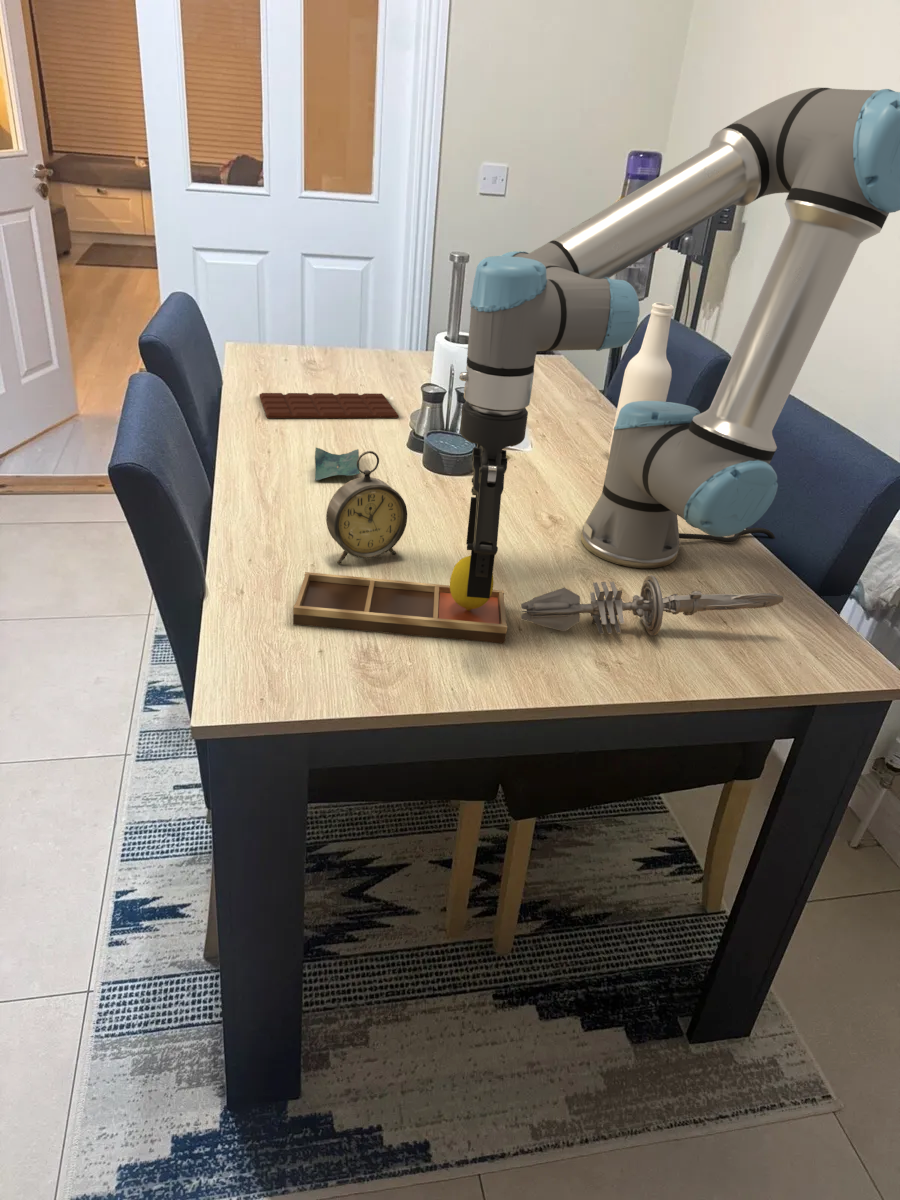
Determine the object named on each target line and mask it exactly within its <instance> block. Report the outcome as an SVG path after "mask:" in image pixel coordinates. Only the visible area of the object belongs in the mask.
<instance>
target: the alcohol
mask: <svg viewBox="0 0 900 1200" xmlns="http://www.w3.org/2000/svg"><path fill="white" fill-rule="evenodd" d="M651 307H652V308H651V309H650V316H649V319H648V322H647V327H646V330H645V332H644V336H643V340H642V343H641V346H640V349H639V350H638V353H636V354H635V355H634V356H633V357H632V358H631V359H630V360H629V361H628V363H627V365H626V367H625V369H624V374H623V378H622V383H621V388H620V392H619V398H618V402H617V407H616V411H615V417H614V422H613V427H612V432H611V437H610V441H609V446H608V455H610V450H611V444H612V439H613V434H614V427H615V425H616V422H617V419H618V415H619V412H620V410H621V408H622V407H624V406H625V405H626V404H628V403H631V402H636V401H663V402H667V398H668V394H669V390H670V385H671V381H672V375H673V373H672V371H673V369H672V366H671V364H670V362H669V360H668V358H667V348H668V342H669V334H670V327H671V322H672V321H671V320H672V317H673V316H674V313H673V311H674V309H675V306H673V305H672V304H670V303H666V302H658V301H656V302H654V303H652V304H651Z"/></svg>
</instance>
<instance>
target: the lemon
mask: <svg viewBox="0 0 900 1200" xmlns="http://www.w3.org/2000/svg"><path fill="white" fill-rule="evenodd" d="M470 559H471V555H467V556H464V557H463V558H461V559H459V560H458V561H457V562H456V564H455V565H454V567H453V569H452V572H451V575H450V579H449V585H450V591H451V595H452V597H453V599H454V600H455V602H456V603H457V604H458V605H460V606H461V607H463V608H465V609H466V610H468V611H470V610H472V609H475V608H479V607H481V606H483V605H484V604H485V603H486V602H487V601H488V600H489V598H477V597H467V587H468V578H469V568H470ZM494 583H495V581H494V573H493V574H492V582H491V590H490V596H491V594H492V591H493V590H494Z"/></svg>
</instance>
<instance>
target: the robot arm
mask: <svg viewBox="0 0 900 1200" xmlns="http://www.w3.org/2000/svg"><path fill="white" fill-rule="evenodd" d="M785 193H786V194H787V196H786V199H785V202H784V206H785V208H786V211H787V214H788V216H789V224H788V227H787V229H786V231H785V233H784V236H783V238H782V240H781V243H780V245H779V247H778V250H777V252H776V254H775V256H774V259H773V261H772V264H771V265H770V268H769V271H768V272H767V274H766V277H765V279H764V282H763V284H762V286H761V289H760V291H759V293H758V296H757V298H756V300H755V303H754V304H753V307H752V308H751V309H752V310H751V312H750V314H749V315H748V318H747V321H746V323H745V325H744V328H743V330H742V333H741V334H740V337H739V339H738V341H737V344H736V345H735V346H736V347H735V348H734V351H733V353H732V355H731V358H730V361H729V362H728V365H727V366H726V369H725V372H724V374H723V376H722V379H721V381H720V383H719V386H718V388H717V389H716V393H715V395H714V397H713V399H712V401H711V404H710V406H709V408H708V409H706V410H705V411H703V412H700V410H699V409H698V408H696V407H694V406H691V405H687V404H684V403H677V402H671V401H666V402H663V401H636V402H631V403H628V404H626V405H625V406H624V407H622V408H621V410H620V412H619V415H618V419H617V422H616V425H615V427H614V434H613V439H612V444H611V450H610V455H609V454H608V455H609V456H608V461H607V465H606V471H605V476H604V482H603V487H602V490H601V494H600V496H599V498H598V499H597V502H596V503H595V505H594V506H593V507H592V510H591V511H590V513H589V515H588V516H587V519H586V520H585V521H584V524H583V527H582V531H581V535H580V537H581V538H580V539H581V540H580V541H581V542H582V545H583V546H584V547H585V548H586V549H587V550H588V551H589V552H590V553H592V554H593V555H595V556H596V557H598V558H600V559H602V560H605V561H607V562H609V563H613V564H616V565H618V566H619V565H620V566H623V567H628V568H636V569H657V568H662V567H666V566H668V565H670V564H672V563H673V562H675V560H676V559H677V557H678V554H679V551H680V540H681V539H683V540H685V539H686V540H705V541H715V542H720V543H728V544H730V543H734V542H737V541H738V540H739V538H740V537H741V536H745V535H751V534H764V535H766V536H767V537H768V538H769V539H776V536H775V534H774V533H773V532H772V531H770V530H769V529H767V528H765V527H752V526H753V525H754V524H756V523H757V522H758V521H760V519H761V518H762V517H763V516H764V515H765V514H766V513H767V511H768V509H770V507H771V505H772V504H773V502H774V500H775V498H776V495H777V492H778V489H779V488H778V486H779V483H778V482H777V481H778V475H777V473H776V471H775V469H774V468H773V466H772V465H771V462H772V461H773V458H774V455H775V453H776V452H777V449H778V446H777V444H776V440H775V438H774V436H773V430H774V428H775V426H776V424H777V422H778V419H779V417H780V415H781V413H782V411H783V408H784V406H785V404H786V402H787V400H788V398H789V396H790V394H791V392H792V390H793V387H794V385H795V383H796V380H797V379H798V377H799V374H800V373H801V370H802V367H803V366H804V365H805V362H806V359H807V358H808V355H809V353H810V351H811V350H812V348H813V345H814V343H815V340H816V338H817V336H818V335H819V332H820V331H821V328H822V326H823V323H824V321H825V320H826V317H827V315H828V313H829V311H830V308H831V306H832V305H833V302H834V300H835V298H836V295H837V294H838V291H839V290H840V287H841V285H842V283H843V281H844V279H845V276H846V275H847V272H848V271H849V268H850V266H851V264H852V262H853V259H854V257H855V255H856V254H857V251H858V249H859V247H860V245H861V244H862V243H863V242H864V241H865V240H868V239H870V238H872V237H874V236H877V235H878V234H880V233H881V231H882V229H883V227H884V226H885V223H886V222H887V219H888V216H889V214H891V213H896V212H899V211H900V91H895V90H893V89H890V88H882V89H849V88H847V89H846V88H830V87H819V86H818V87H811V88H806V89H802V90H798V91H794V92H792V93H789V94H787V95H784V96H782V97H780V98H778V99H775V100H773V101H771V102H768V103H767V104H764V105H763V106H761V107H759V108H757V109H756V110H753V111H752V112H750V113H748V114H746V115H744V116H742V117H741V118H739V119H736V121H733V122H732V123H730V124H729V125H727V126H725V127H723V128H722V129H720V130H719V131H717V132H715V133H714V135H713V136H712V137H711V139H710V141H709V145H708V146H707V148H705V149H703V150H701V151H699V152H698V153H696V154H694V155H693V156H690V158H688V159H686V160H685V161H683V162H681V163H679V164H678V165H676V166H674V167H673V168H670V170H668V171H666V172H664V173H662V174H661V175H659V176H657V177H656V178H654V179H653V180H650V181H649V182H648V183H646V184H644V185H643V186H641V187H639V188H637V189H636V190H634V191H633V192H631V193H629V194H627V195H626V196H624V197H622V198H621V199H619V200H617V201H615V202H614V203H612V204H610V205H609V206H607V207H605V208H603V209H602V210H601V211H599V212H597V213H595V214H594V215H592V216H589V218H587V219H586V220H583V221H581V222H580V223H579V224H576V225H575V226H574V227H572V228H571V229H569V230H567V231H565V232H563V233H561V234H560V235H559V236H556V237H555V238H553V239H552V240H550V241H549V242H546V243H545V244H543V245H542V246H540V247H537V248H536V249H534V250H533V251H531V252H527V251H520V250H519V251H517V250H516V251H514V250H513V251H508V252H505V253H503V254H501V255H492V256H488V257H485V258H483V259H481V260H480V261H479V263H478V264H477V266H476V269H475V274H474V279H473V286H472V291H471V297H470V300H469V305H470V316H469V328H468V342H467V353H466V355H467V356H466V366H465V369H466V371H461V372H460V373H459V380H460V381H462V382H464V389H463V399H464V400H465V402H464V403H463V404H462V405H461V415H460V426H459V432H460V435H461V436H462V438H463V439H465V440H466V441H468V443H471V444H476V447H473V448H472V459H471V461H472V472H473V475H472V478H471V484H472V487H471V491H470V492H471V493H472V494H471V495H472V496H471V497H470V505H469V514H468V523H467V532H466V550H467V551H470V556H471V559H470V568H469V578H468V587H467V597H477V598H490V590H491V582H492V574H493V575H494V564H495V557H496V556H497V554H498V550H499V547H498V537H499V526H500V513H501V501H502V494H503V492H504V489H505V488H504V487H505V486H504V485H505V474H506V472H507V469H508V457H507V449H506V448H509V447H511V448H512V447H515V446H518V445H520V444H521V443H522V442H523V441H524V440H525V438H526V431H527V424H528V417H529V411H528V410H527V407H528V406H530V403H531V397H532V389H533V382H534V374H535V363H536V357H537V352H555V351H556V352H557V351H558V352H559V351H561V352H562V351H596V352H600V351H603V350H609V349H616V348H621V347H623V346H625V345H626V344H628V343H629V342H630V340H631V339H632V338H633V337H634V335H635V333H636V330H637V329H638V322H639V317H640V314H641V313H640V300H639V297H638V294H637V291H636V289H635V288H634V287H633V285H632V284H631V283H630V282H628V281H627V280H624V279H613V278H612V277H613V276H615V275H617V274H619V273H620V272H622V271H624V270H625V269H627V268H629V267H630V266H632V265H633V264H635V263H638V262H639V261H640V260H642V259H643V258H645V257H647V256H648V255H650V254H651V253H653V252H655V251H657V250H659V249H660V248H662V247H663V246H665V245H667V244H669V243H670V242H672V241H674V240H676V239H677V238H678V237H679V238H680V236H682V235H683V234H685V233H688V232H689V231H690V230H692V229H694V228H696V227H697V226H699V225H701V224H702V223H704V222H705V221H707V220H709V219H710V218H712V217H714V216H716V215H717V214H719V213H721V212H722V211H724V210H727V208H730V207H731V206H732V205H735V206H738V207H744V206H747V205H750V204H751V203H753V202H755V201H756V200H758V199H760V198H762V197H766V196H769V195H774V194H785ZM678 517H680V518H681V519H683V520H684V521H685V522H686V523H687V525H689V526H691V527H692V528H695V529H698V530H700V531H702V532H703V533H705V534H703V533H684V532H683V533H682V532H679V522H678V521H679V520H678Z"/></svg>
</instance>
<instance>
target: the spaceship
mask: <svg viewBox="0 0 900 1200" xmlns="http://www.w3.org/2000/svg"><path fill="white" fill-rule="evenodd" d="M600 583H601V587H602V591H601V590H600V587H599V583H598V582H597V581H595V582H594V581H593V582H592V585H593V590H594V591H591V592H589V595H590V603H581V597H580V595H579V594H577V593H575V592H574V591H572V590H570V589H568V588H567V587H564V586H563V587H561V588H558V589H555V590H553V591H550V592H546V593H544V594H542V595H538V596H535V597H532V599H531V600H528V601H525V602H523V603H521V604H520V608H521V609H522V610H520V611H519V612H520V613H522V614H520V620H522V621H525V622H526V621H527V622H529V623H533V624H534V625H537V626H541V627H545V628H549V629H553V630H556V631H557V630H558V631H562V632H567V631H568V630H569V629H571V628H572V627H574V626H576V625H577V624H579V623H580V621H581V614H590V616H591V617H592V619H591V624H595V625H596V628H597V631H598V633H599V635H603V634H604V628H603V625H604V626H605V629H606V632H607V634H609V635H610V634H613V629H612V625H613V627H614V630H615V632H616V634H621V633H622V631H621V627H620V624H625V618H624V612H625V611H629V612H631V611H632V614H633V616H636V617H639V618H641V620H642V623H643V626H644V628H645V630H646V632H647V633H648V634H649V635H651V636H653V637H654V636H656V635H658V633H659V632H660V630H661V627H662V625H663V617H664V612H665V613H668V614H672V615H678V614H680V613H682V615H683V616H693V615H695V614H696V613H698V612H705V611H731V610H734V611H735V610H744V609H752V610H753V609H764V608H769V607H770V608H771V607H774V606H776V605H780V604H781V603H782V602H784V596H783V595H780V594H778V593H774V592H759V593H758V592H756V593H745V594H743V593H742V594H737V593H736V594H735V593H711V594H709V593H702V592H701V591H700V590H695V591H691V593H688V594H678V593H673V594H669V595H667V596H665V597H663V592H662V589H661V586H660V583H659V581H658V579H657V577H655V576H654V575H652V574H649V575H647V576H646V577H645V578H644V580H643V582H642V586H641V590H640V594H639V595H640V596H639V595H637V594H635V595H633V596H632V601H629V602H624V601H623V598H622V595H623V590H618V589H617V586H616V584H615V582H614V581H609V585H610V589H611V590H609V588H608V585H607V582H606V581H601V582H600Z"/></svg>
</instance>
